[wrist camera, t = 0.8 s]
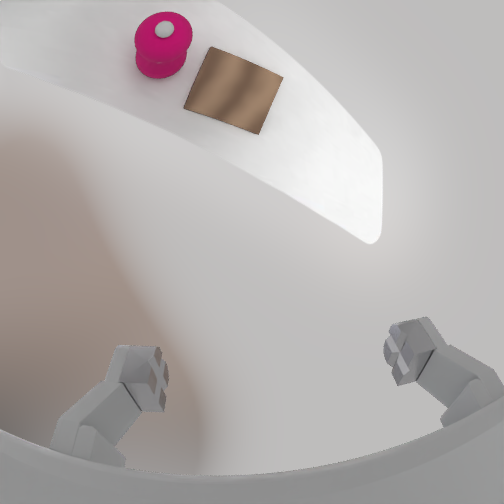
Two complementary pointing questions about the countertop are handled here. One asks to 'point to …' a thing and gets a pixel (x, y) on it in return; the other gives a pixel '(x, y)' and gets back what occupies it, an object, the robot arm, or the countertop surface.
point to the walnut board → (233, 90)
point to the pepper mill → (162, 44)
